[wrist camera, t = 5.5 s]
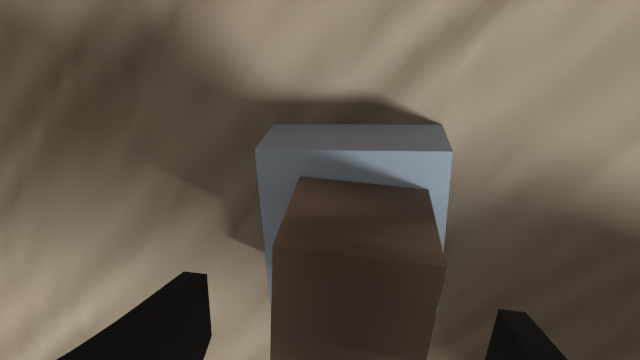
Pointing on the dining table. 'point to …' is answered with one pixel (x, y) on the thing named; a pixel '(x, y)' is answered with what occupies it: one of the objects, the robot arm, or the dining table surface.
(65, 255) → the dining table surface
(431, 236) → the walnut cube
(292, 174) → the base block
